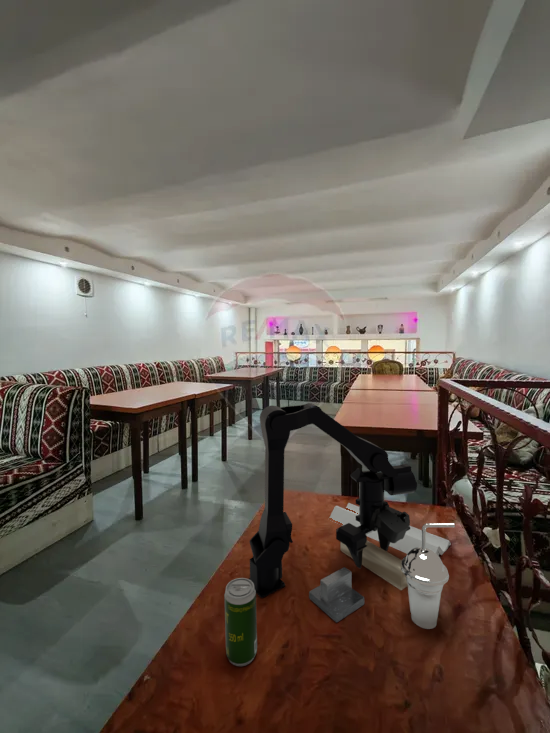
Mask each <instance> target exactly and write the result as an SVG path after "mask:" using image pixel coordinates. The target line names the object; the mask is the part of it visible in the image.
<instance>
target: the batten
mask: <svg viewBox="0 0 550 733" xmlns="http://www.w3.org/2000/svg"><path fill="white" fill-rule="evenodd" d="M366 545H367V547H365V548H364V549H363V554H362V566H363V567H365V568H366V569H367V570H369V571H371V572H372V573H373V574H375V575H377V576H378V577H380V578H381V579H383V580H384V581H386V582H387V583H389V584H391V586H393V587H394V588H395V587H396V589H398V590H399V591H403V590H404V589H406V588H408V585H407V581H406V577H405V574H404V573H403V572H402V570H401V561H402V559H401V558H399V557H398V556H395V555H393V554H392V553H390V552H388V550H387V551H385V550H383V549H381V548H380V546H378V545H376V544H375V543H373V542H371V541H369V540H367V542H366ZM340 551H341V553H343V554H345V555H347V556H348V557H350V558H351V559H352V560H353V558H352V556H351V554H350V552H349V550H348V548H347V546H346V545H345V544H343V543H342V542H340Z"/></svg>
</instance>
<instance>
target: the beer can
mask: <svg viewBox="0 0 550 733" xmlns="http://www.w3.org/2000/svg"><path fill="white" fill-rule="evenodd" d="M223 595H224V626H225V628H224V630H225V632H224V633H225V652H226V653H225V655H226V657H227V659H228V661H229V663H231V664H232V665H233V666H236V667H244V666H248V665H249V664H251V663H252V661H254V659H255V657H256V654H257V652H258V631H257V630H258V629H257V624H258V623H257V593H256V590H255V588H254V583H253V582H252V581H251V580H249V578H246V577H239V578H237V577H236V578H235V579H232V580H230V581H229V582H228V583H227V584H226V586H225V591H224V594H223Z"/></svg>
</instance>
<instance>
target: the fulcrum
mask: <svg viewBox="0 0 550 733" xmlns="http://www.w3.org/2000/svg"><path fill="white" fill-rule="evenodd" d="M352 575H353V574H352V571H351V570H350V569H348V568H346V567H345V566H343V567H342V568H340V569H338V570H336V571H334V572H332V573H331V574H329V575H327V576H325V577H323V578H321V579H320V581H319V582H320V585H319V586H316V587H315V588H313V589H311V590H309V592H308V598H309V600H310V601H311V602H313V603H314V604H315V605H316V606H317V607H318V608H319V609H320V610H321V611H322V612H323V613H325V615H327V616H328V617H329V618H330V619H332V621H333V622H335V623H336V624H337V623H338V622H340V621H342V620H343V619H344V618H346V617H348V616H349V615H350V614H352V613H354V612H355V611H356V610H358V609H359V608H361V607H363V606H364V605H365V596H364V595H362V594H361V593H359V592H358V591H356V590H355V589H354V588H353V587H352V578H353V577H352Z"/></svg>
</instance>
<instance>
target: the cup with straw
mask: <svg viewBox="0 0 550 733" xmlns="http://www.w3.org/2000/svg"><path fill="white" fill-rule="evenodd" d="M428 528H456V525H455V523H454V522H450V523H449V522H447V523H445V522H443V523H442V522H441V523H440V522H436V523H435V522H431V523H430V522H427V523H424V524H422V527H421V530H422V547H416V548H413V549H412V550H410V551H409V552H408V554H406V556H404V557H403V558H402V559H401V560H402V561H401V570H402V572H403V573H404V574H405V577H406V581H407V585H408V586H407V593H408V602H409V610H410V613H411V614H410V617H411V621H412V622H413V623H414V624H416V626H418V627H420V628H422V629H426V630H430V629H434V628H436V626H437V623H438V617H439V609H440V604H441V596H442V591H443V587H444V585H445V584H446V583H448V581H449V580H450V579H449V578H450V575H449V571H448V568H447V566H446V565H445V564H444V563H443V561H442V559H441V557H440V555H439V556H438V555H437V554H436V553H435V552H433V551H432V550H430V549H428V548H426V532H427V529H428Z"/></svg>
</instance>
